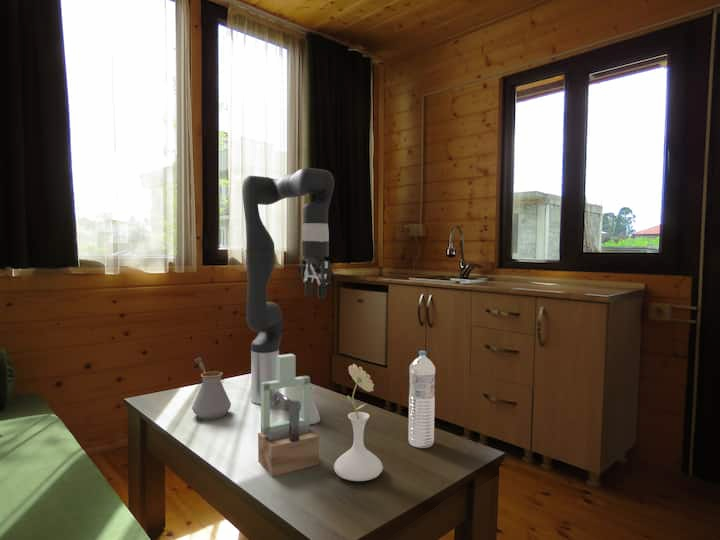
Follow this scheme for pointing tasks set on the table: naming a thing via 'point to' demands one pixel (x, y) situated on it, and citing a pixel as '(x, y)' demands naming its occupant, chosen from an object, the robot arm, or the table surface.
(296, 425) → the bent wire
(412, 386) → the water bottle
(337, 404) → the table surface
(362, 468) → the flower in vase
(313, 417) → the flask
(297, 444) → the wooden block
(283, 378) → the square frame with post
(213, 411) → the coffee pot
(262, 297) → the robot arm
